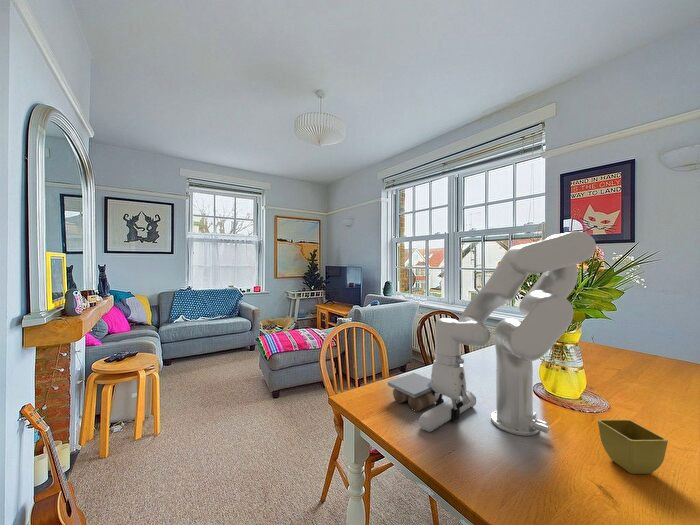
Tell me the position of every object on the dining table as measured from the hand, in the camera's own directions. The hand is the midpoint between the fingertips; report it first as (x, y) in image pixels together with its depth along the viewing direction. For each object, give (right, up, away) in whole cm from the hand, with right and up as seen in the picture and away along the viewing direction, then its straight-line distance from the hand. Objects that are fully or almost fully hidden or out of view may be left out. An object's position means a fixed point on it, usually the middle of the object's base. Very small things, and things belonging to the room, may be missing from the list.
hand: (447, 415), depth 90 cm
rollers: (-8, -1, +10) cm, 13 cm away
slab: (-8, +5, +11) cm, 14 cm away
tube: (0, -1, 0) cm, 1 cm away
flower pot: (+37, -1, -21) cm, 42 cm away
